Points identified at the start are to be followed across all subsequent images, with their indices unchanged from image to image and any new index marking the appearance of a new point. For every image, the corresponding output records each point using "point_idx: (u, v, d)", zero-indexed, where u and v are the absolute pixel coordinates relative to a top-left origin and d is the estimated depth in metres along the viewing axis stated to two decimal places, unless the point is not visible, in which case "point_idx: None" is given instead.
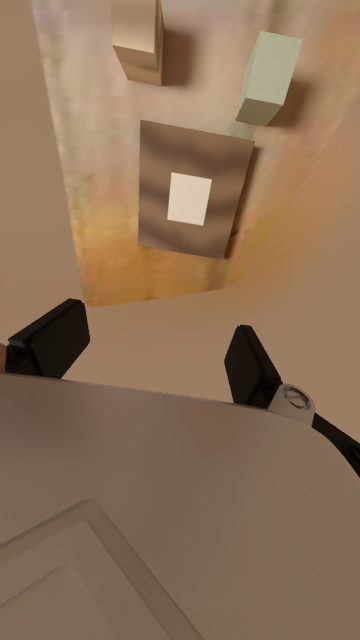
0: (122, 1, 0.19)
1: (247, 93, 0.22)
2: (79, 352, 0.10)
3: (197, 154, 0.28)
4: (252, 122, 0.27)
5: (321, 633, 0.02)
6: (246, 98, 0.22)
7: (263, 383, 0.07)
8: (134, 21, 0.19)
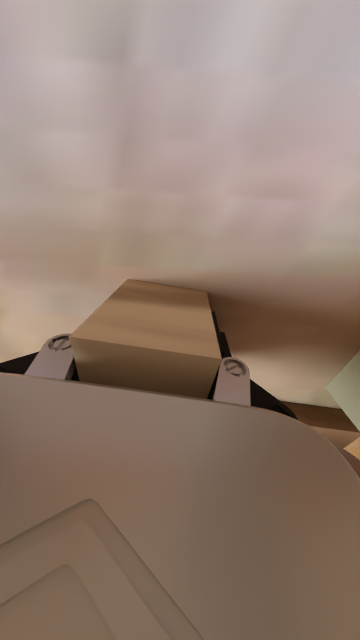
0: (113, 383, 0.07)
1: None
2: None
3: None
4: None
5: (321, 633, 0.02)
6: None
7: None
8: None
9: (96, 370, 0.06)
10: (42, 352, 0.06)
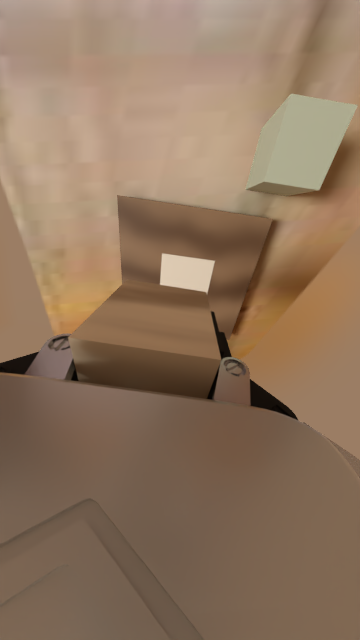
0: (112, 384, 0.06)
1: (266, 176, 0.15)
2: None
3: (195, 233, 0.21)
4: (269, 192, 0.20)
5: (321, 633, 0.02)
6: (265, 181, 0.15)
7: None
8: None
9: (95, 371, 0.06)
10: (42, 352, 0.06)
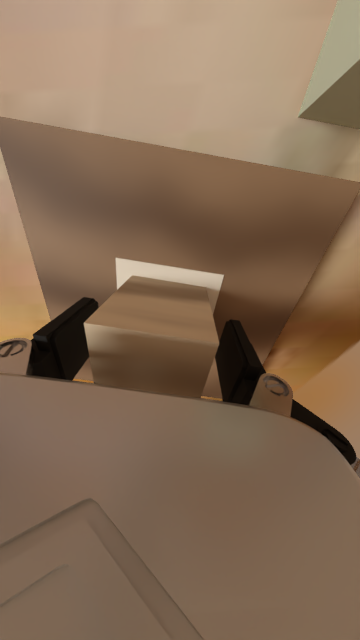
0: (121, 367, 0.07)
1: None
2: None
3: (183, 216, 0.10)
4: (353, 123, 0.09)
5: (321, 633, 0.02)
6: None
7: (246, 373, 0.07)
8: (150, 387, 0.08)
9: (106, 355, 0.07)
10: None
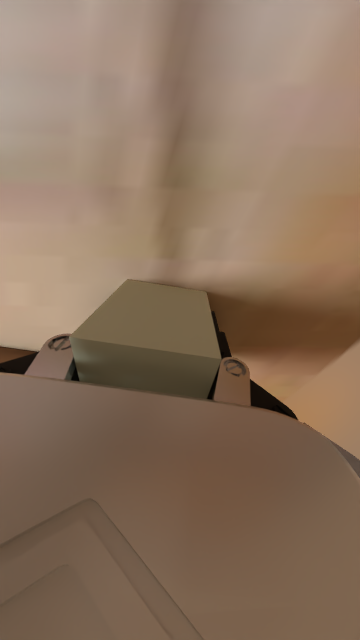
0: None
1: None
2: None
3: None
4: None
5: (321, 633, 0.02)
6: None
7: None
8: None
9: None
10: (42, 352, 0.06)
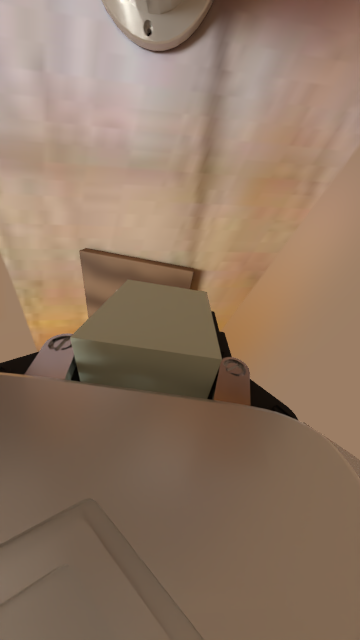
0: None
1: None
2: None
3: (139, 278, 0.28)
4: None
5: (321, 633, 0.02)
6: None
7: None
8: None
9: None
10: (42, 352, 0.06)
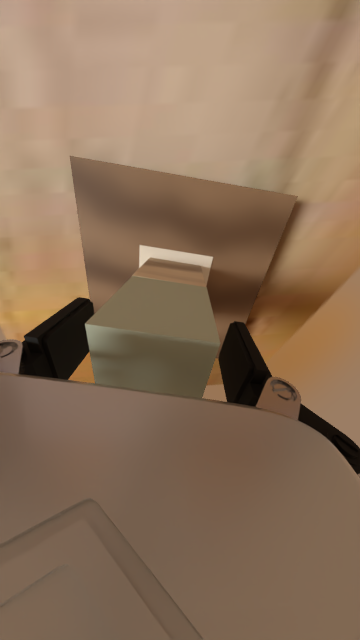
0: None
1: None
2: (87, 350, 0.10)
3: (185, 217, 0.15)
4: None
5: (321, 633, 0.02)
6: None
7: (252, 376, 0.07)
8: None
9: None
10: None
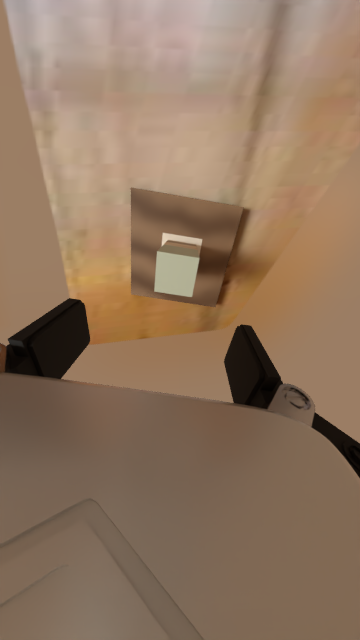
0: None
1: (155, 288, 0.22)
2: (79, 352, 0.10)
3: (187, 217, 0.28)
4: None
5: (321, 633, 0.02)
6: (155, 291, 0.22)
7: (263, 383, 0.07)
8: None
9: None
10: None
